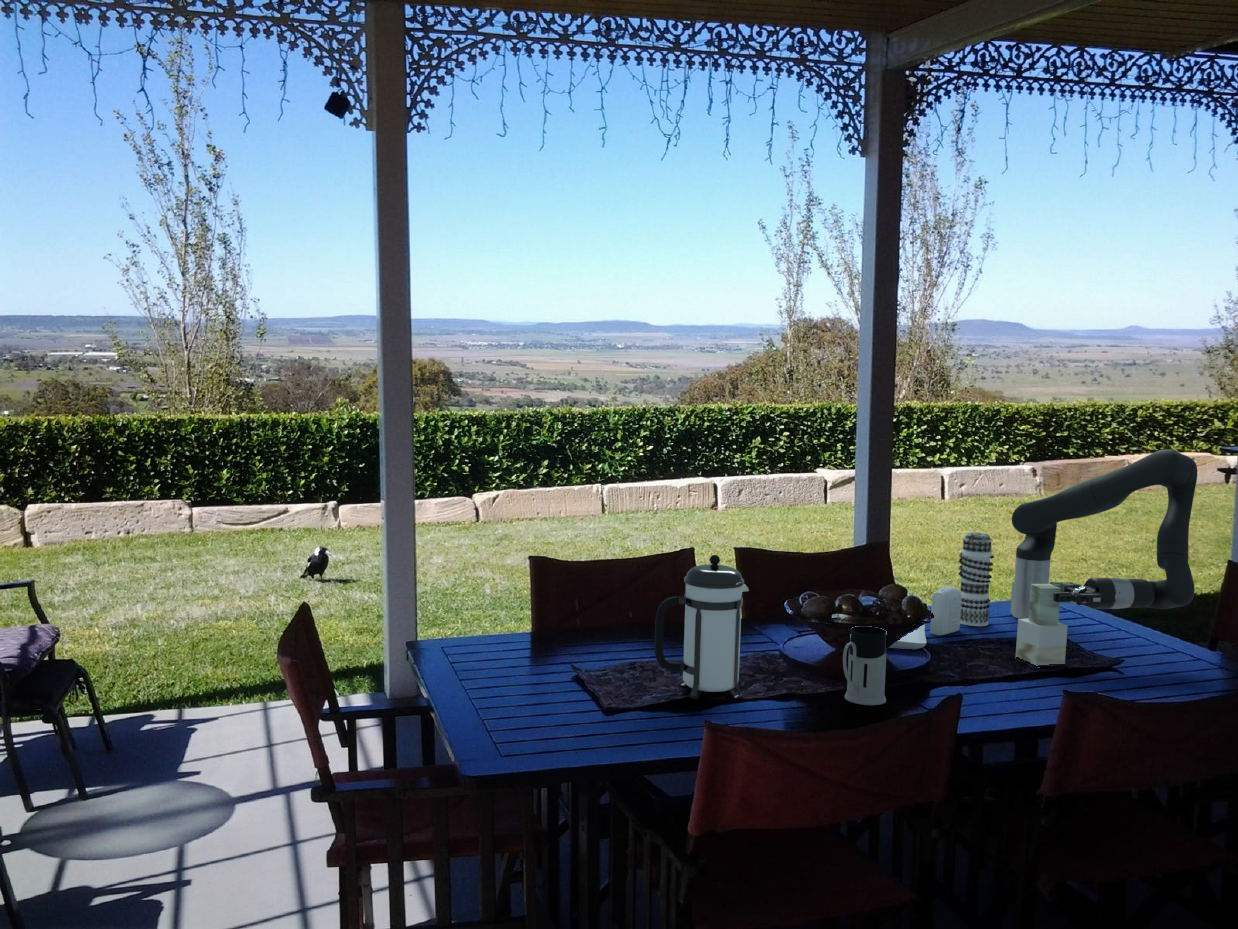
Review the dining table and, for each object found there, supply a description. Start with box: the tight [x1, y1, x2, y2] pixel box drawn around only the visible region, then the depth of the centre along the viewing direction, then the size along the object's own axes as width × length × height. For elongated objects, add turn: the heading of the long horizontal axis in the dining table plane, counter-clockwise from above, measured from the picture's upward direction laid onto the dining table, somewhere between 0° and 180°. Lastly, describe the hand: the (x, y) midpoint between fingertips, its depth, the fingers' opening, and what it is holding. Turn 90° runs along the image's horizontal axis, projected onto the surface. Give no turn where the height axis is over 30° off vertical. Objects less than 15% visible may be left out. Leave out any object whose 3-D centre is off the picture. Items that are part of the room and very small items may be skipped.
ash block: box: [1015, 638, 1067, 666], centre depth 268 cm, size 8×8×5 cm
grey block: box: [1016, 618, 1068, 648], centre depth 267 cm, size 8×8×5 cm
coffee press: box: [654, 554, 750, 700], centre depth 236 cm, size 17×16×30 cm
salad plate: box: [890, 623, 927, 650], centre depth 284 cm, size 21×21×3 cm
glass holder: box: [842, 626, 887, 706], centre depth 233 cm, size 9×14×15 cm, turn 138°
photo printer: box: [929, 585, 962, 636], centre depth 294 cm, size 10×4×12 cm, turn 134°
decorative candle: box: [958, 532, 995, 627], centre depth 305 cm, size 9×9×25 cm
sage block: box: [1028, 583, 1061, 625], centre depth 266 cm, size 5×5×9 cm
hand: (1045, 593), depth 266 cm, fingers open, 8 cm apart
